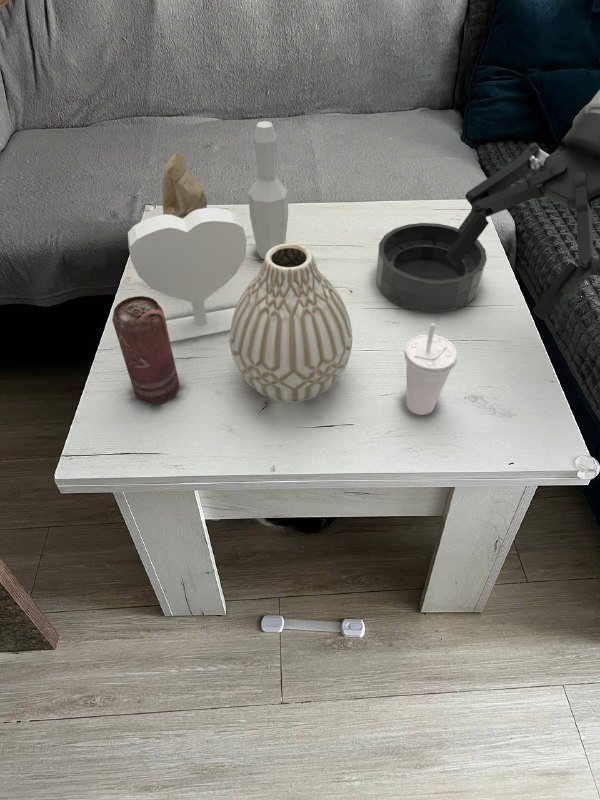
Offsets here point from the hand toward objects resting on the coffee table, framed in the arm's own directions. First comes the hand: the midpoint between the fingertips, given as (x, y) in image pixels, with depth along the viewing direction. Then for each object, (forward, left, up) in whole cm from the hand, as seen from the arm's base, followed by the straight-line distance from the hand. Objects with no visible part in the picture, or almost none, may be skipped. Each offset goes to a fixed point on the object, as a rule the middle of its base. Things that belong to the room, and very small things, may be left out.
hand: (492, 287), depth 73 cm
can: (+30, +31, -15) cm, 46 cm away
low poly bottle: (+42, -3, -15) cm, 44 cm away
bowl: (+17, -14, -15) cm, 26 cm away
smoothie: (+2, +9, -15) cm, 18 cm away
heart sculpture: (+36, +18, -15) cm, 43 cm away
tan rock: (+47, +10, -15) cm, 50 cm away
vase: (+18, +17, -15) cm, 29 cm away
